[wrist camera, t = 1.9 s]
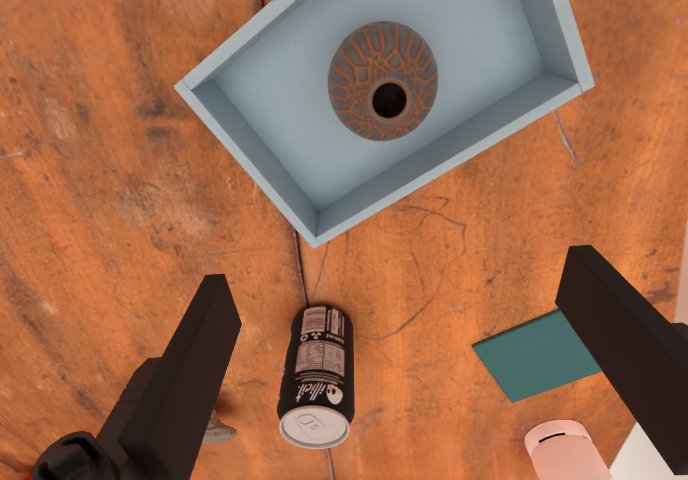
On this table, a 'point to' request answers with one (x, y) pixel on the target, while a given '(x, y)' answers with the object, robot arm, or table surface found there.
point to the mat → (536, 356)
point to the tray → (367, 155)
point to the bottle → (565, 452)
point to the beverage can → (318, 379)
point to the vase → (382, 81)
